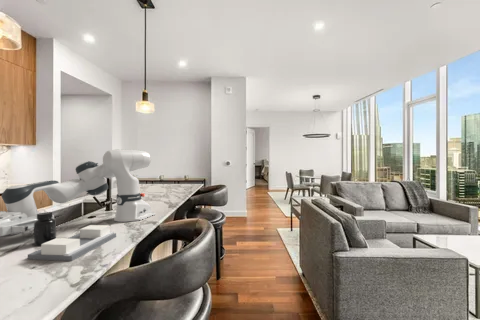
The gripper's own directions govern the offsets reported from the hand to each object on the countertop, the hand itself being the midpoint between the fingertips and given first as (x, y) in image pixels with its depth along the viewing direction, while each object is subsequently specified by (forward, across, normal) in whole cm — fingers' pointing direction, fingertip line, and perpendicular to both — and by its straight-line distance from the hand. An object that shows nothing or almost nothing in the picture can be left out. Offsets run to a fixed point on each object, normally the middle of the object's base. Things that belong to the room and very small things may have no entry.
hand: (39, 225), depth 95 cm
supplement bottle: (+3, 0, -7) cm, 8 cm away
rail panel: (+19, 0, -7) cm, 20 cm away
